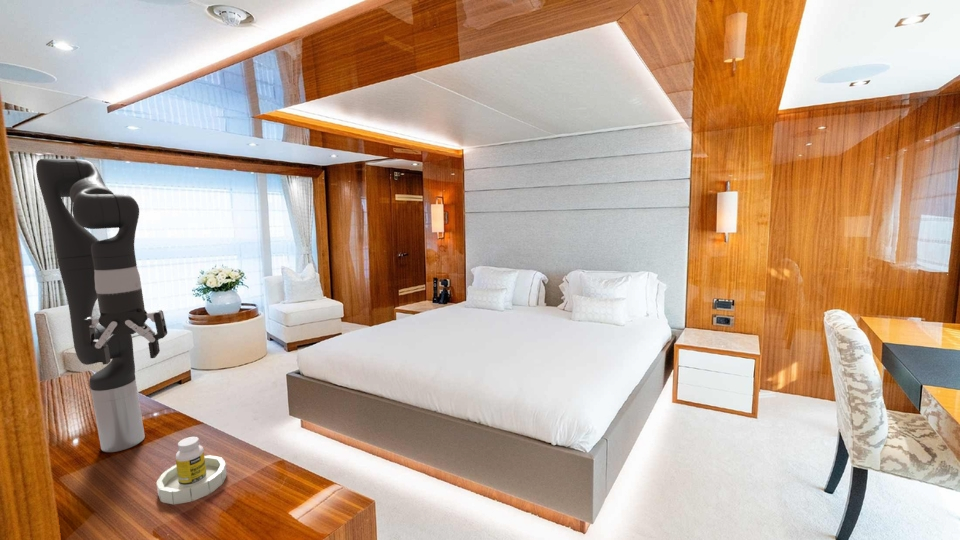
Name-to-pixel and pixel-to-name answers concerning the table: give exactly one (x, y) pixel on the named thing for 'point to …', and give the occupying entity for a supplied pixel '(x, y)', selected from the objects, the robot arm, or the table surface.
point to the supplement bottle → (190, 462)
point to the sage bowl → (178, 494)
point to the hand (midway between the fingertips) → (130, 360)
